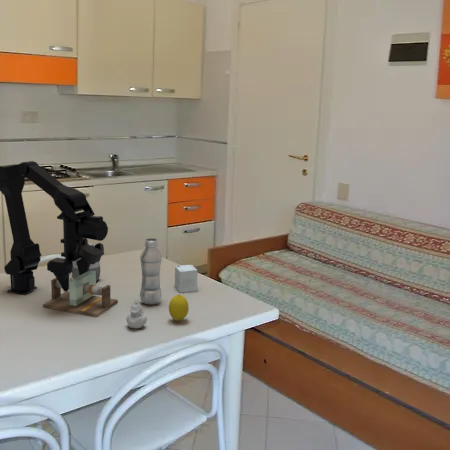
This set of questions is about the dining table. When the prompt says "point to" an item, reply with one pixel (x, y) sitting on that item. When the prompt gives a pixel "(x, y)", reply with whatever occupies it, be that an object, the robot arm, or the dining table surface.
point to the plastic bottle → (150, 273)
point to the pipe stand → (89, 306)
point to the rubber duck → (136, 316)
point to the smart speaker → (92, 267)
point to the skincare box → (186, 278)
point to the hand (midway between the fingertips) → (74, 286)
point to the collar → (81, 287)
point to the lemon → (178, 307)
